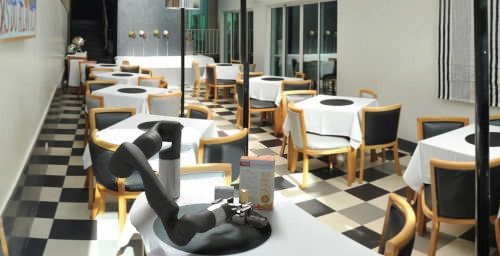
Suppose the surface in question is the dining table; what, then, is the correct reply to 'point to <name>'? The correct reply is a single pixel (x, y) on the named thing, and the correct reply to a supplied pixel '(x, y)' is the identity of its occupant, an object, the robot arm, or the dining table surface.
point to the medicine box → (223, 192)
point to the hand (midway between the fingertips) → (242, 202)
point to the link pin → (243, 197)
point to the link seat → (239, 219)
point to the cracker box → (258, 180)
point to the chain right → (256, 220)
